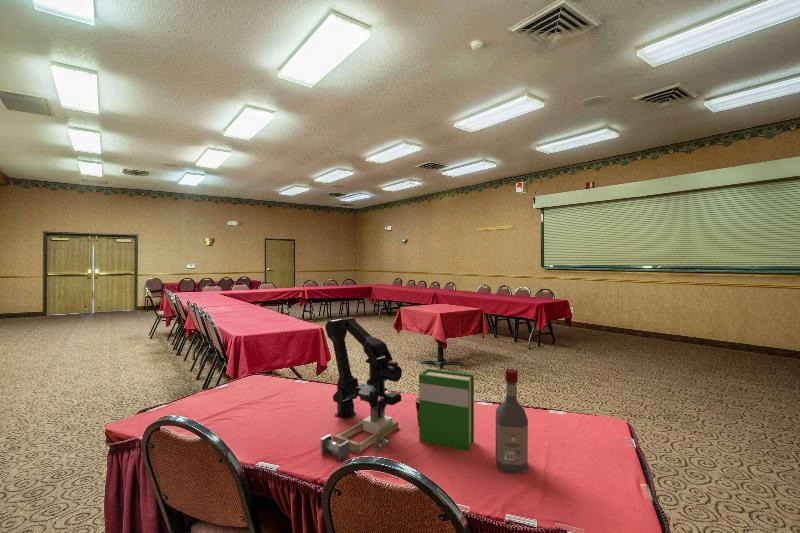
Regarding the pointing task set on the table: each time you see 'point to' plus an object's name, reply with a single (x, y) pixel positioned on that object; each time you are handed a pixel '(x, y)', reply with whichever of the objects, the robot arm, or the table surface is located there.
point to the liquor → (511, 430)
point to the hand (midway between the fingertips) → (377, 416)
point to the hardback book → (446, 408)
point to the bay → (368, 441)
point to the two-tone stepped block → (376, 421)
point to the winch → (335, 447)
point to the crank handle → (382, 443)
